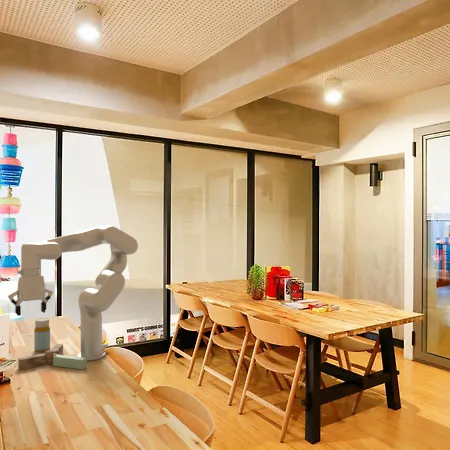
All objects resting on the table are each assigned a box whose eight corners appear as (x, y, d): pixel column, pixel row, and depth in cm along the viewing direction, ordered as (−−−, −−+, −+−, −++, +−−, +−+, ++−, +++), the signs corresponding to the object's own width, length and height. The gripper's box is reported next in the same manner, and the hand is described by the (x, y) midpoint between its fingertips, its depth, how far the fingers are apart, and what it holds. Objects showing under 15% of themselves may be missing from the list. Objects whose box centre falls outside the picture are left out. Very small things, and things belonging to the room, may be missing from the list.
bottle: (45, 347, 207) (45, 317, 207) (52, 349, 203) (52, 319, 202) (31, 350, 202) (31, 319, 201) (38, 353, 197) (38, 322, 197)
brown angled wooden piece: (58, 352, 199) (58, 341, 199) (76, 355, 194) (76, 344, 194) (15, 369, 176) (15, 357, 176) (34, 372, 172) (34, 360, 172)
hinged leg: (51, 365, 179) (51, 354, 179) (56, 363, 182) (56, 352, 182) (82, 369, 174) (82, 358, 174) (86, 367, 177) (86, 356, 177)
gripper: (10, 275, 164) (10, 318, 164) (55, 271, 175) (55, 312, 175) (6, 273, 169) (5, 315, 169) (49, 270, 181) (49, 309, 181)
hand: (31, 313), depth 172 cm, fingers open, 9 cm apart
